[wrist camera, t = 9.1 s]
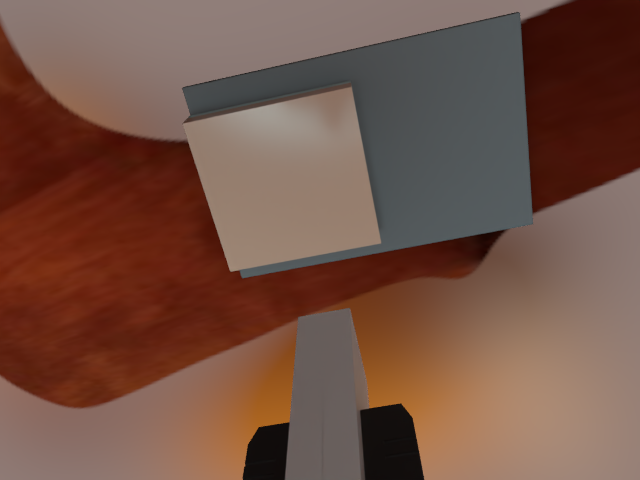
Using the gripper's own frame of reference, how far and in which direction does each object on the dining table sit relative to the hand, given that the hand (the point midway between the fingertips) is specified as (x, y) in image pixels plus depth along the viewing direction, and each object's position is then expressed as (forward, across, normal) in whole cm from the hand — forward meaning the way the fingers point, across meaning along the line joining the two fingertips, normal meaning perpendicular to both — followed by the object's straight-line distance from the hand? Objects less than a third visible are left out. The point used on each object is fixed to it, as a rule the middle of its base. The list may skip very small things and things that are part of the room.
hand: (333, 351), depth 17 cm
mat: (+18, +2, 0) cm, 18 cm away
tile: (+17, +2, 0) cm, 17 cm away
